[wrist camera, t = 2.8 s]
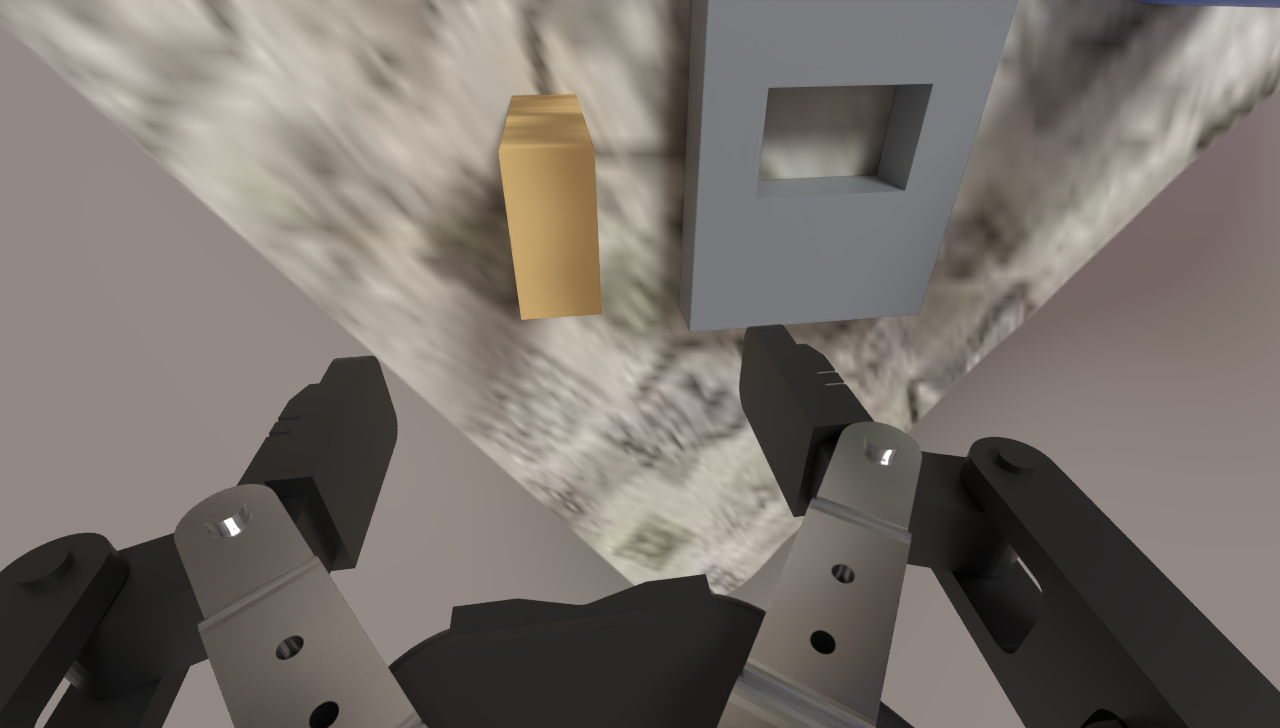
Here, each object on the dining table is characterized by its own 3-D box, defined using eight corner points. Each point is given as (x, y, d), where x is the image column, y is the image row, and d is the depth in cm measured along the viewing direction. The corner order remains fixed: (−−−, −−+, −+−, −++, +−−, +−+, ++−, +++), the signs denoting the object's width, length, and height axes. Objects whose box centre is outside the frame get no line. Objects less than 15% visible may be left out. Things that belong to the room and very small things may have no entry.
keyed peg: (526, 219, 30) (521, 319, 21) (512, 95, 26) (498, 152, 17) (583, 216, 30) (601, 314, 21) (576, 94, 27) (593, 148, 18)
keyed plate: (679, 307, 34) (689, 332, 32) (697, -123, 23) (716, -136, 21) (892, 291, 36) (918, 314, 33) (1006, -116, 25) (1058, -128, 22)
